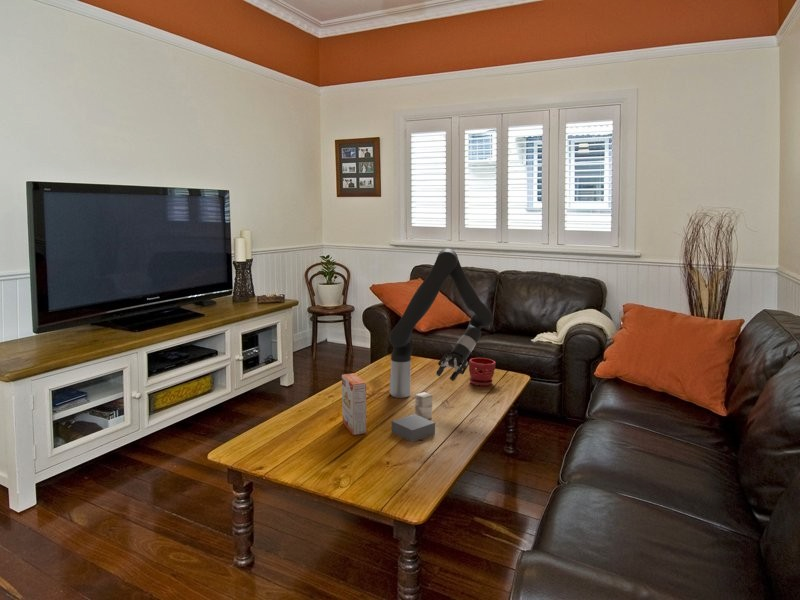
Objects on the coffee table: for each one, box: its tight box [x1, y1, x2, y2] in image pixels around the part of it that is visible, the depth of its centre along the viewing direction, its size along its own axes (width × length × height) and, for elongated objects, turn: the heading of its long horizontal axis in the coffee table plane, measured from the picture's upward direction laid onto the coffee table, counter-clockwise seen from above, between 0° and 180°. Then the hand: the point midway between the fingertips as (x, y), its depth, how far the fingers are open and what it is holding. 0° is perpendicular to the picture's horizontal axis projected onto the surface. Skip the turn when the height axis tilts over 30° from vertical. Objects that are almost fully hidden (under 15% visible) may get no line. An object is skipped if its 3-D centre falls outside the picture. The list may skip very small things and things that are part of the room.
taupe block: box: [414, 391, 433, 420], centre depth 230 cm, size 5×5×10 cm
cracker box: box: [341, 373, 367, 436], centre depth 217 cm, size 14×6×21 cm, turn 23°
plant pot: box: [468, 357, 496, 387], centre depth 276 cm, size 13×13×12 cm
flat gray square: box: [391, 413, 436, 443], centre depth 214 cm, size 12×12×5 cm
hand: (444, 377), depth 236 cm, fingers open, 8 cm apart
